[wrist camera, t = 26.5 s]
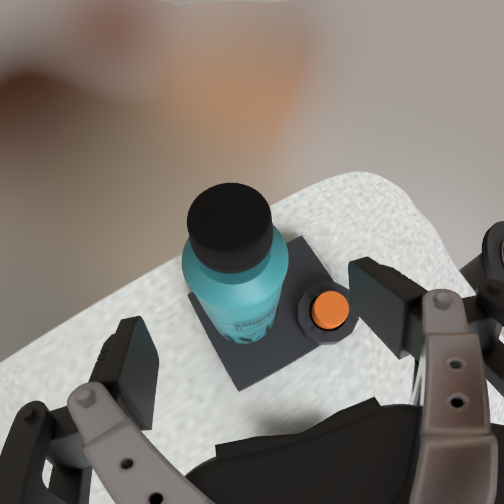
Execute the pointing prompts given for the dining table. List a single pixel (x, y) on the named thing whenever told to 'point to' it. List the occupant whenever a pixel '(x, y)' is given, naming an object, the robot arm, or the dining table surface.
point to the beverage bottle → (235, 260)
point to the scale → (283, 322)
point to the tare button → (330, 310)
